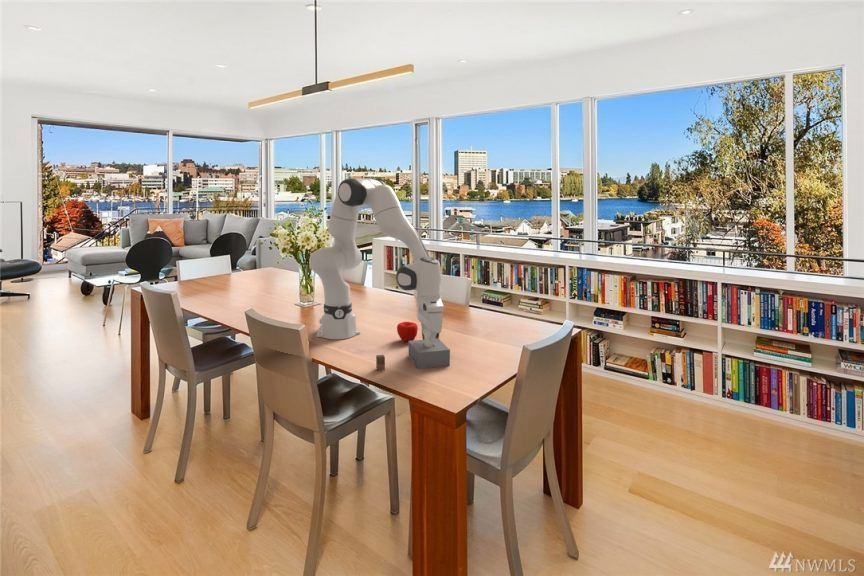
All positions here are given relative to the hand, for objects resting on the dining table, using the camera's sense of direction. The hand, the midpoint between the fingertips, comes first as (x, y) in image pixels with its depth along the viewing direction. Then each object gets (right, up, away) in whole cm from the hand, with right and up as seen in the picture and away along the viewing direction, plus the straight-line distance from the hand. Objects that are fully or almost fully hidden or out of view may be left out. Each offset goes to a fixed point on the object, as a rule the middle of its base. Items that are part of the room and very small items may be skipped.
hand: (428, 338), depth 176 cm
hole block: (0, -9, +2) cm, 9 cm away
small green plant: (+1, -6, +16) cm, 17 cm away
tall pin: (0, -9, +2) cm, 9 cm away
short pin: (-17, -10, -7) cm, 21 cm away
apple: (-9, -4, +25) cm, 27 cm away
